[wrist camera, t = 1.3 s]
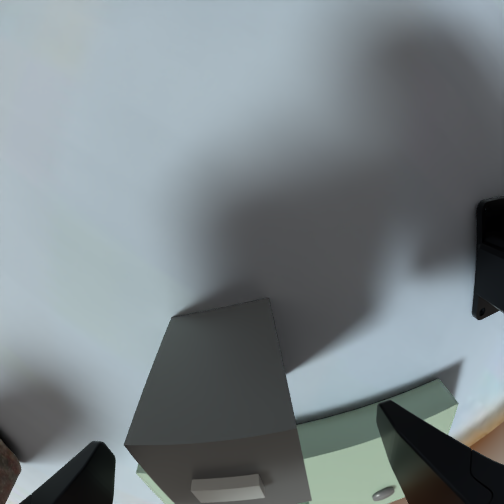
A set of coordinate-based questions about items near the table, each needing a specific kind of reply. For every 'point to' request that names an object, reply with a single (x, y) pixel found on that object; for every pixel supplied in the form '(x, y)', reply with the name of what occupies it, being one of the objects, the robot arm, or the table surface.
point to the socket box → (357, 450)
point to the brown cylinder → (7, 471)
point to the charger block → (220, 412)
